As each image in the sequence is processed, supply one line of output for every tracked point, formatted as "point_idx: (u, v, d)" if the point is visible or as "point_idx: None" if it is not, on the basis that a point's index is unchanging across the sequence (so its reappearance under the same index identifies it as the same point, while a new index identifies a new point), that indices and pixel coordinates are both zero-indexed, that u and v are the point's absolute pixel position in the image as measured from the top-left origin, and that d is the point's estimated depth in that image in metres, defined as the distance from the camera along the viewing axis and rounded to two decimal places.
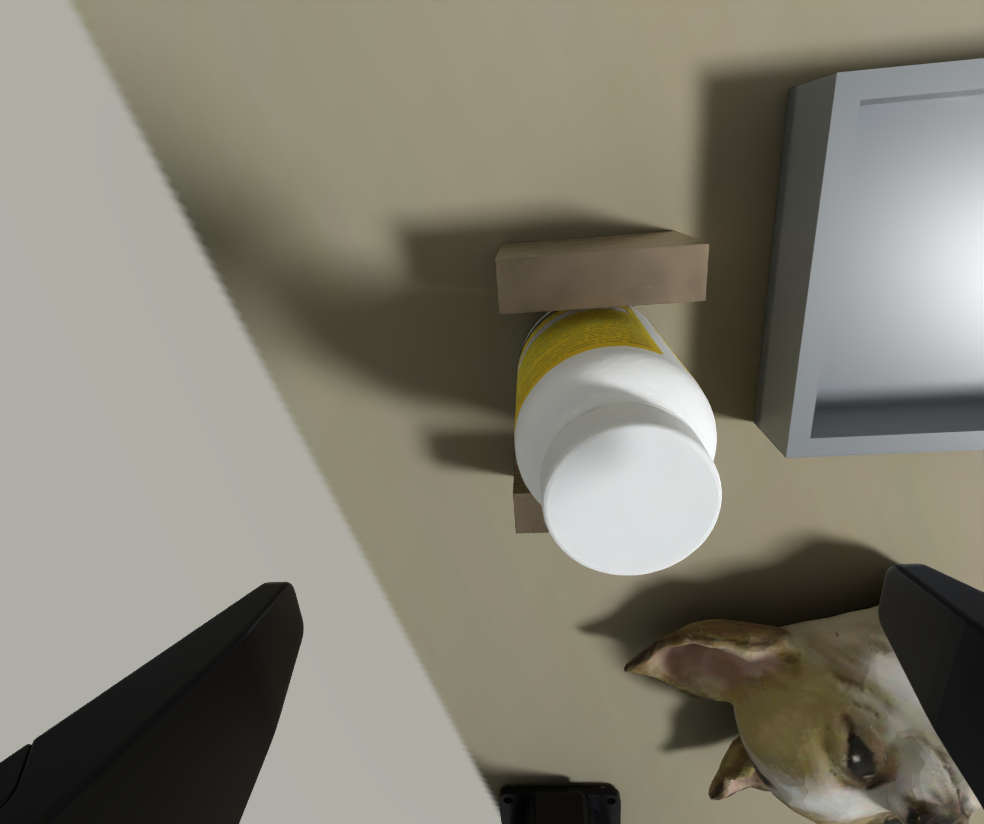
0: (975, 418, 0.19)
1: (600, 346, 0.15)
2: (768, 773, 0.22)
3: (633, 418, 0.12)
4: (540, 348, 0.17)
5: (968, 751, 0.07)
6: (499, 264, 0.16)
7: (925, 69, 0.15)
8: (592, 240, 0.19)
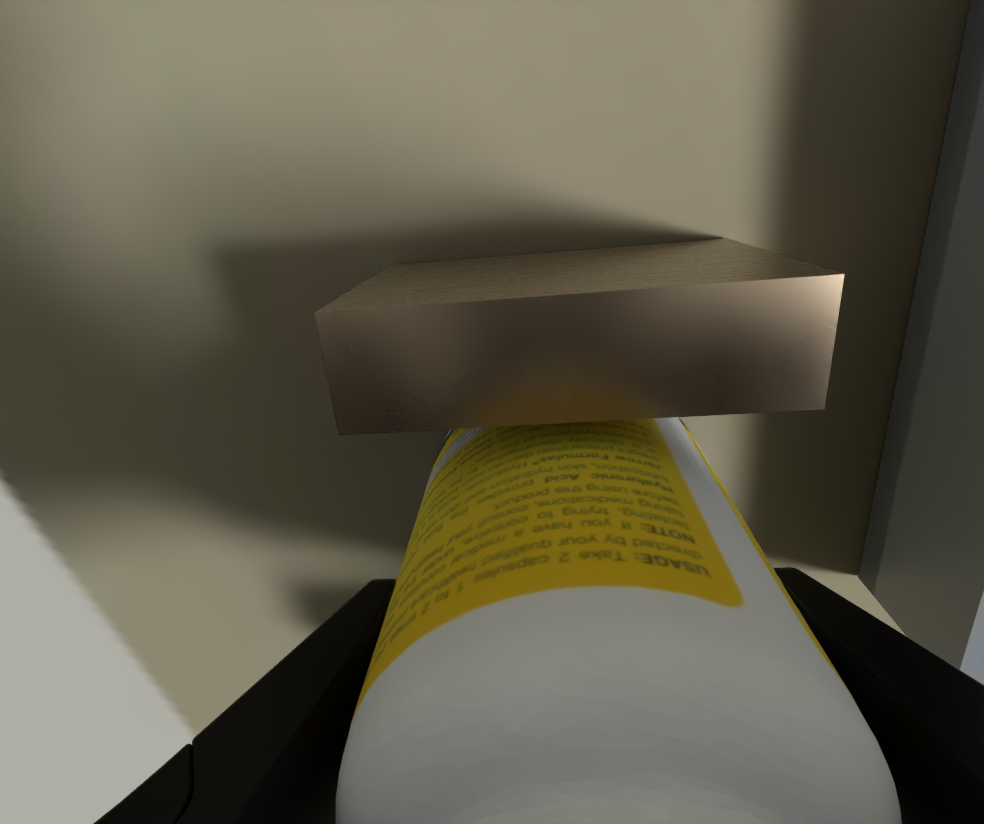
0: None
1: (561, 583, 0.05)
2: None
3: None
4: (439, 506, 0.08)
5: None
6: (325, 324, 0.07)
7: None
8: (561, 259, 0.09)
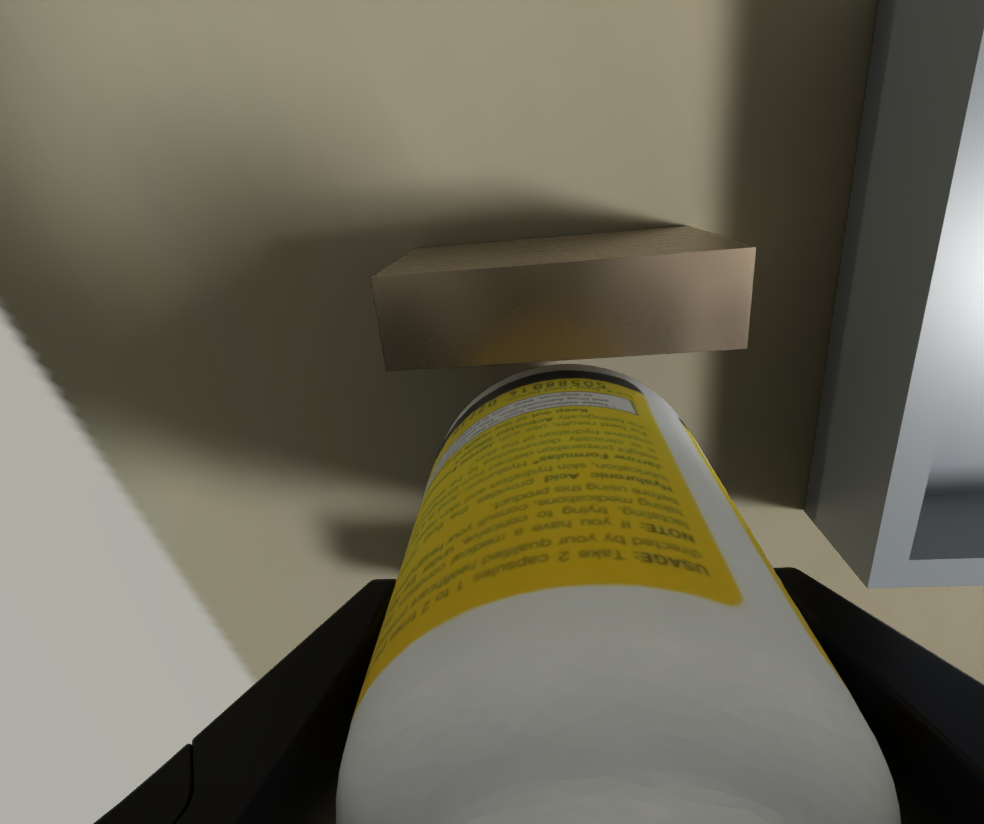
0: None
1: (561, 582, 0.05)
2: None
3: None
4: (439, 505, 0.08)
5: None
6: (378, 285, 0.09)
7: None
8: (554, 242, 0.12)
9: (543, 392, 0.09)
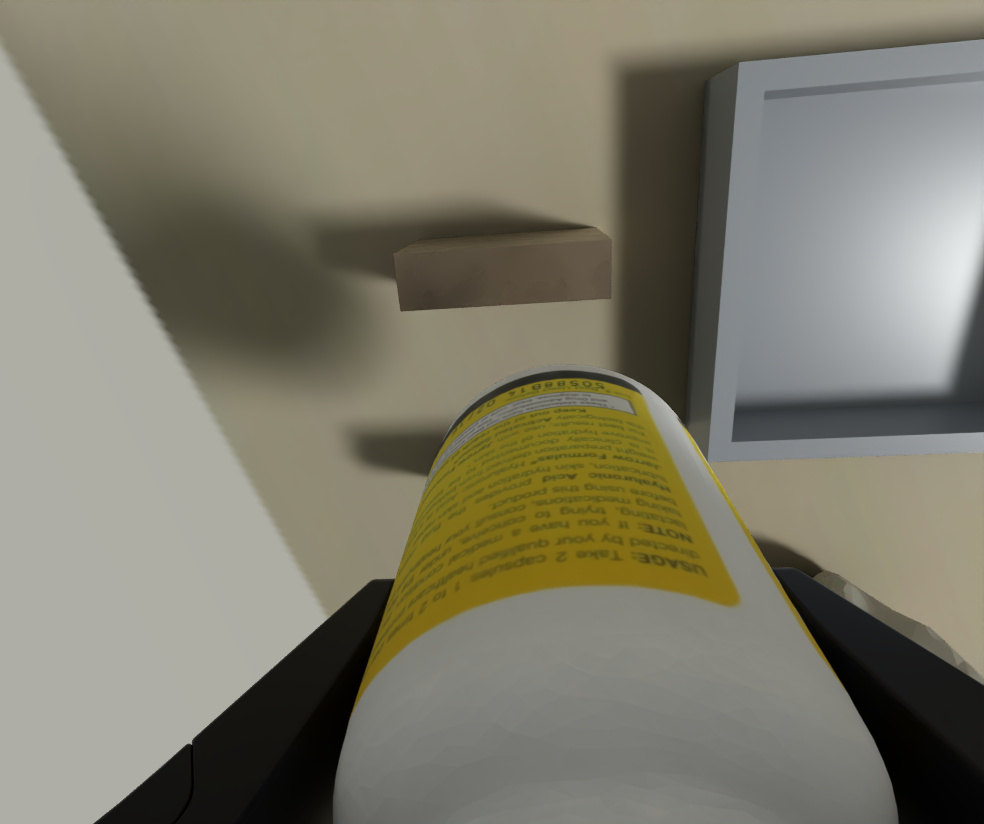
0: (903, 422, 0.19)
1: (557, 583, 0.05)
2: None
3: None
4: (437, 506, 0.08)
5: None
6: (397, 259, 0.16)
7: (829, 59, 0.14)
8: (507, 236, 0.18)
9: (542, 392, 0.09)
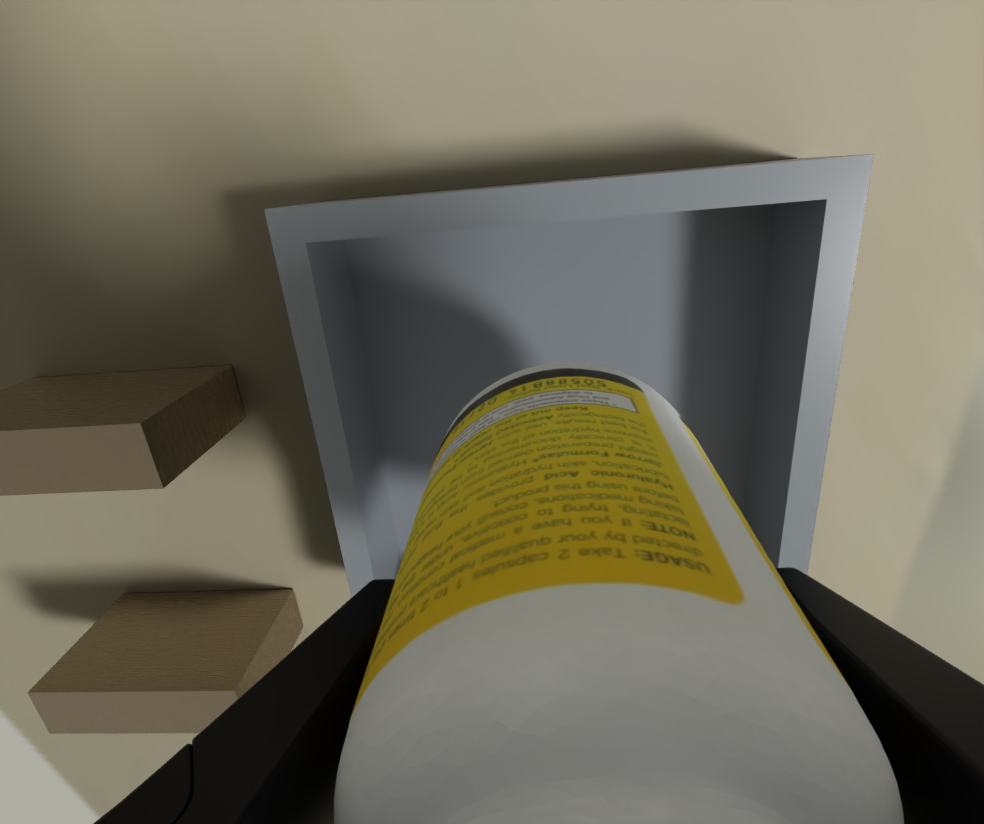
0: None
1: (560, 580, 0.05)
2: None
3: None
4: (438, 504, 0.08)
5: None
6: None
7: (373, 206, 0.11)
8: (107, 384, 0.15)
9: (543, 389, 0.09)
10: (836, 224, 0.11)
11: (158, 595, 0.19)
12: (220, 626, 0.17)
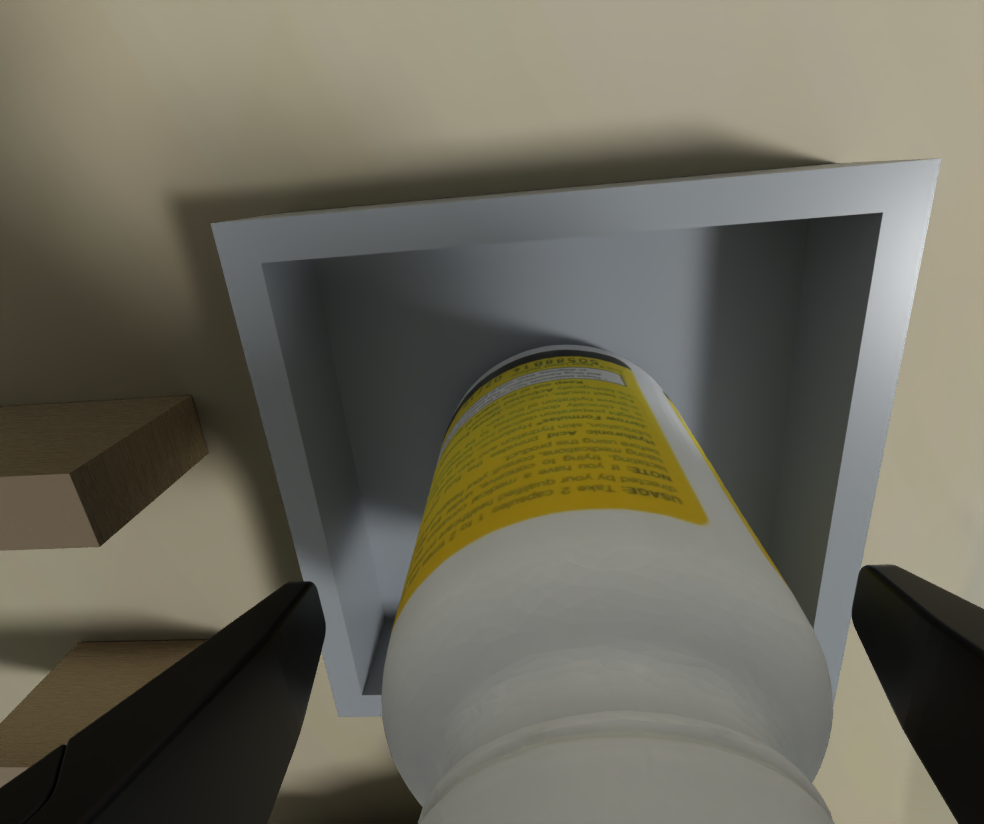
0: None
1: (563, 508, 0.06)
2: None
3: None
4: (456, 463, 0.09)
5: (934, 751, 0.07)
6: None
7: (339, 220, 0.09)
8: (46, 418, 0.13)
9: (544, 367, 0.11)
10: (892, 242, 0.09)
11: (116, 644, 0.17)
12: None
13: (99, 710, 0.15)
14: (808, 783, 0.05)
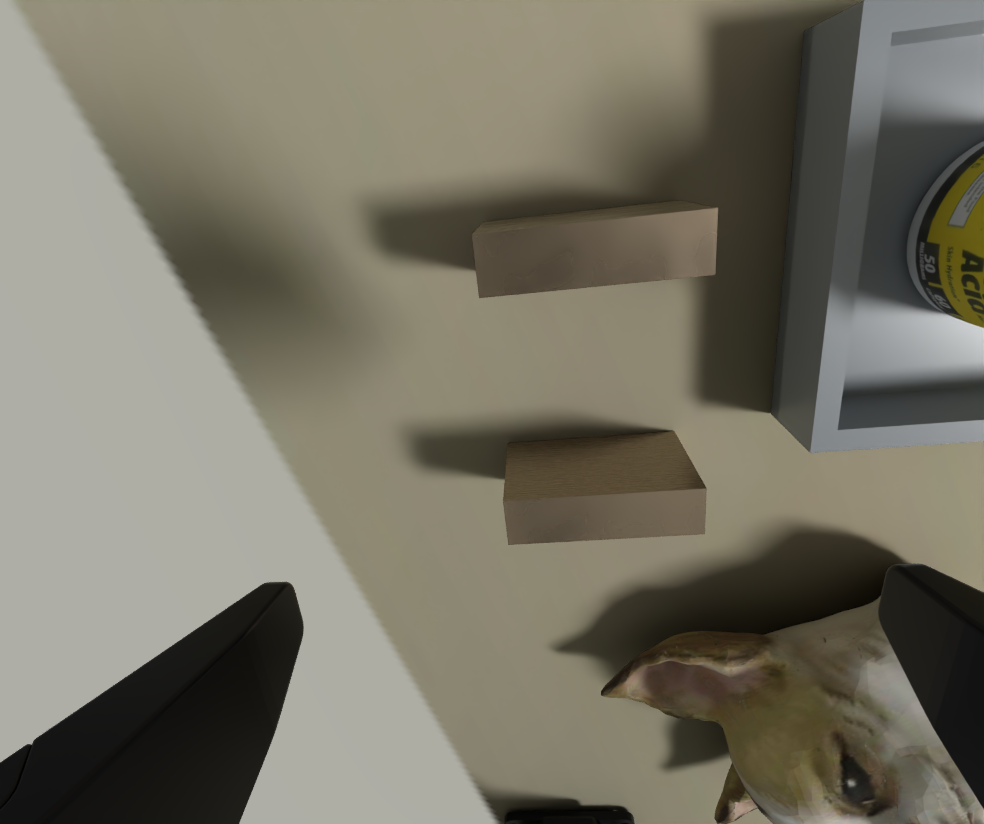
0: None
1: None
2: (760, 801, 0.19)
3: None
4: None
5: (968, 751, 0.07)
6: (476, 240, 0.14)
7: None
8: (584, 213, 0.17)
9: None
10: None
11: (544, 441, 0.21)
12: (634, 455, 0.19)
13: (582, 470, 0.18)
14: None
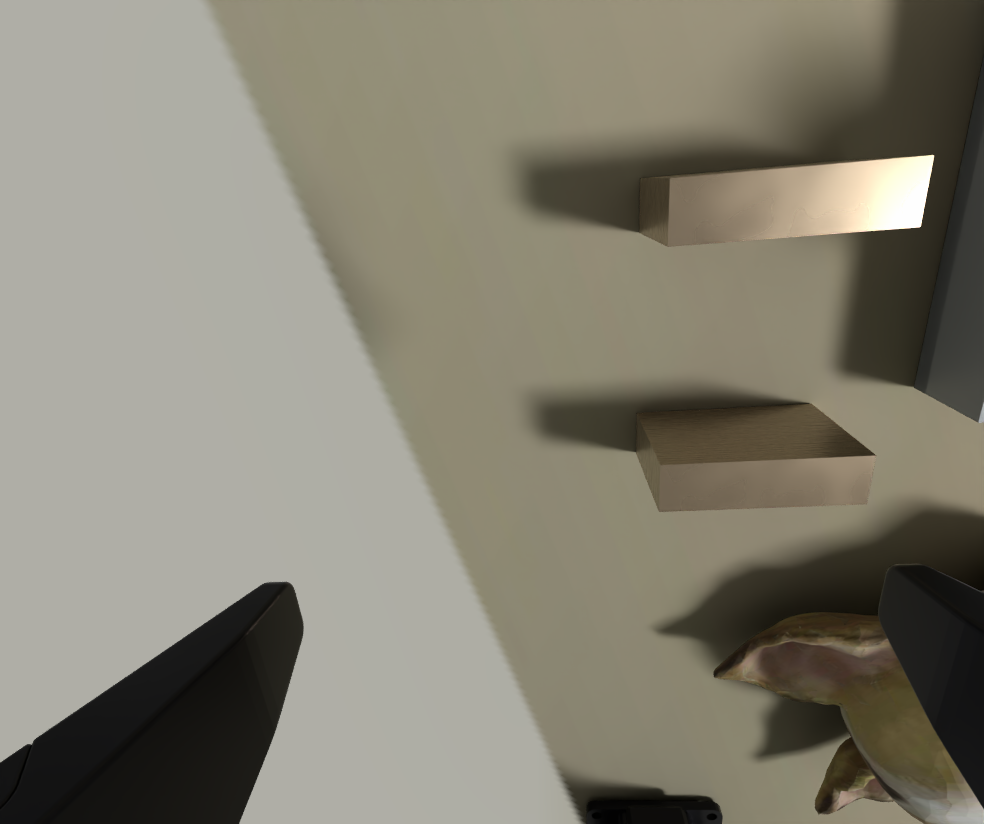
0: None
1: None
2: (897, 785, 0.19)
3: None
4: None
5: (968, 751, 0.07)
6: (675, 184, 0.14)
7: None
8: (757, 168, 0.16)
9: None
10: None
11: (675, 412, 0.20)
12: (780, 425, 0.18)
13: (731, 438, 0.18)
14: None
